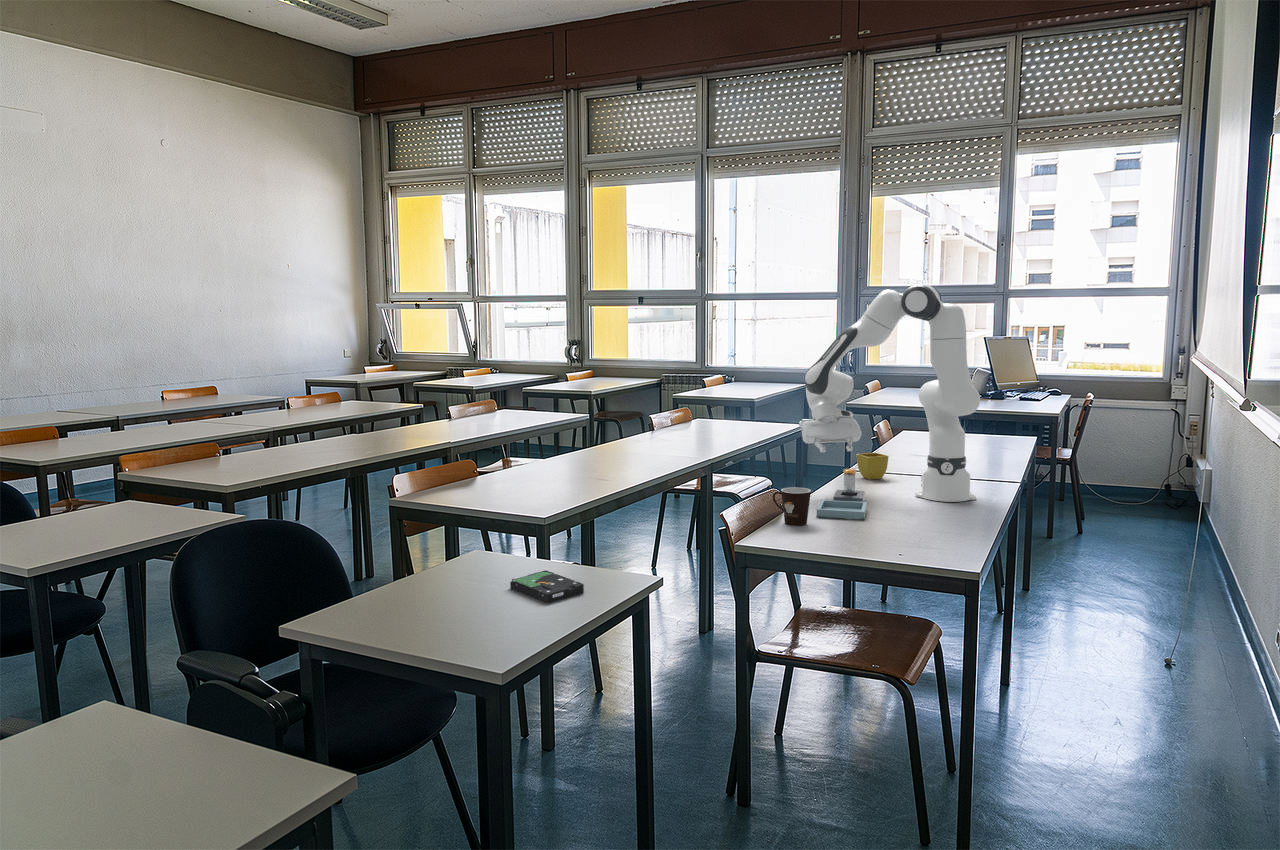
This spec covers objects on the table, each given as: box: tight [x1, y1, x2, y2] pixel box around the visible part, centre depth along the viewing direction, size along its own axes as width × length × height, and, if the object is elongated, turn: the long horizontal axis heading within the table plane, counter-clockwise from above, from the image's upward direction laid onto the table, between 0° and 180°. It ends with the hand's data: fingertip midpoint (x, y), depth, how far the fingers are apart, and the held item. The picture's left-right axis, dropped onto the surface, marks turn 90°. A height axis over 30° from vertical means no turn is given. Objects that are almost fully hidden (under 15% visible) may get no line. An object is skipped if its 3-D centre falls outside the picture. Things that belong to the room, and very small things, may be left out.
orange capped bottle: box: [842, 468, 857, 496], centre depth 276 cm, size 4×4×11 cm
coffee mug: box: [772, 487, 812, 527], centre depth 251 cm, size 12×9×10 cm
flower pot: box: [855, 452, 889, 480], centre depth 317 cm, size 9×9×9 cm
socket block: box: [833, 489, 866, 502], centre depth 276 cm, size 12×9×3 cm
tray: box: [816, 499, 868, 520], centre depth 261 cm, size 14×14×2 cm
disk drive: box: [509, 570, 585, 604], centre depth 192 cm, size 10×3×15 cm
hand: (836, 450), depth 285 cm, fingers open, 8 cm apart
